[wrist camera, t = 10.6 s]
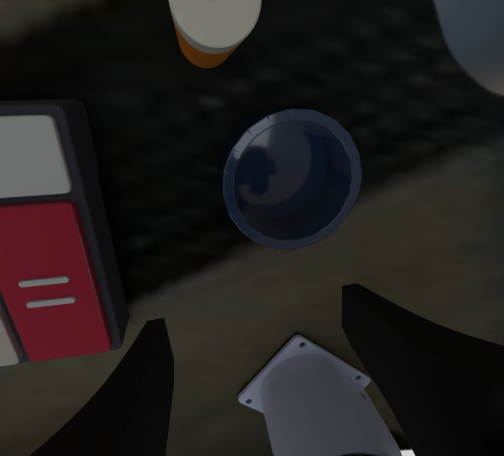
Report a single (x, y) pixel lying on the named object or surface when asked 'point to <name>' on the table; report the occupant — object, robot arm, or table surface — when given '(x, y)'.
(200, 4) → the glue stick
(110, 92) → the table surface
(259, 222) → the dark blue round bowl
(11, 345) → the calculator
